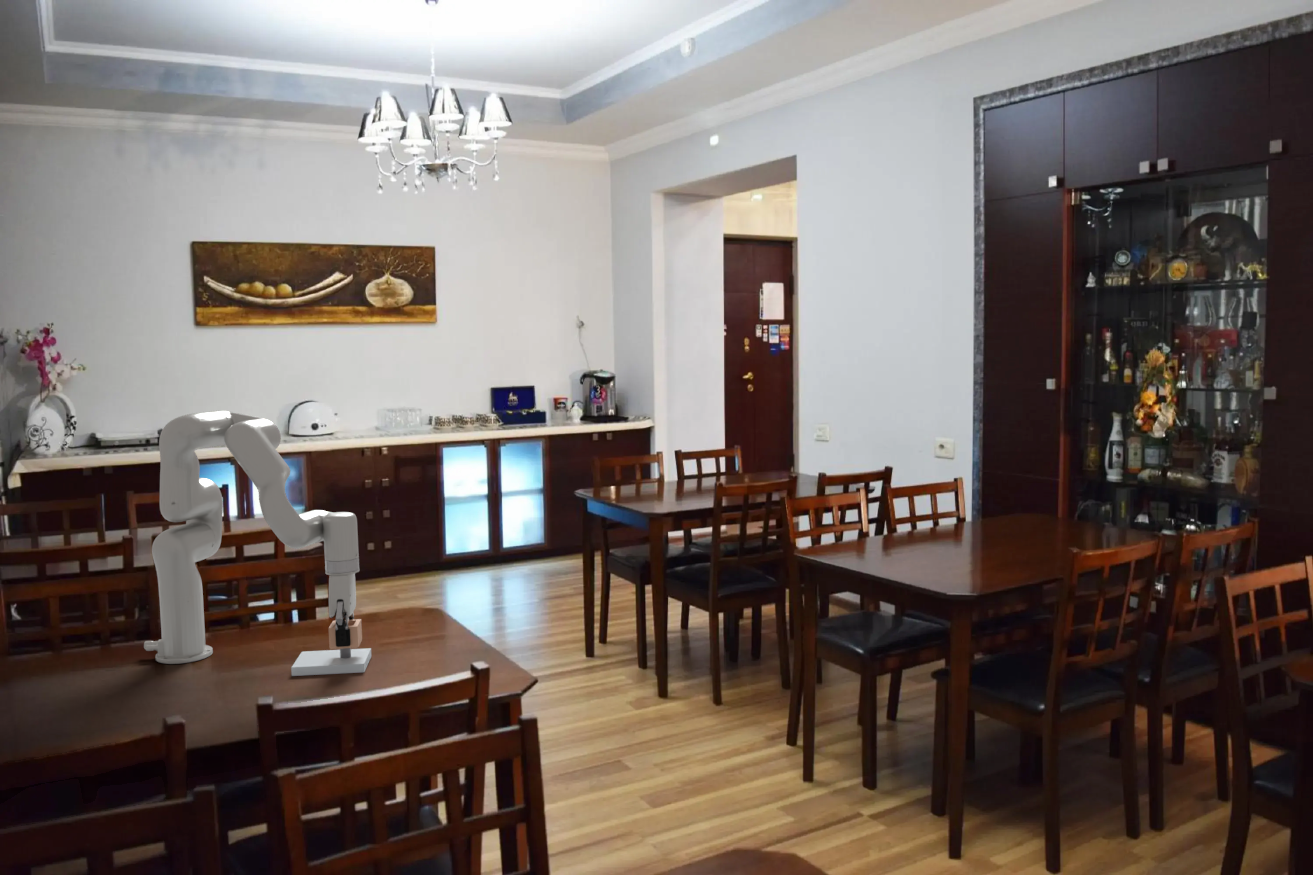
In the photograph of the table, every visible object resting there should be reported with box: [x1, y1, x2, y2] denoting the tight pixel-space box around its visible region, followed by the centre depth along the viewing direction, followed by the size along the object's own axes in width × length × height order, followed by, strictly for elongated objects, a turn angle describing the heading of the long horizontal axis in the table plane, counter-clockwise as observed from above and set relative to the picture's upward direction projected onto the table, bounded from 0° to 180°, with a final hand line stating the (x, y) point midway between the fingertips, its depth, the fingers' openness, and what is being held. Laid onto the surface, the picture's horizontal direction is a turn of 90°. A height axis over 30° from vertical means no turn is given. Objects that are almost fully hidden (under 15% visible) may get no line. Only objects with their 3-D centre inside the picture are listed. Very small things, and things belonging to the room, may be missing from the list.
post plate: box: [290, 647, 372, 677], centre depth 241 cm, size 16×12×7 cm
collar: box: [328, 618, 363, 650], centre depth 241 cm, size 6×6×5 cm
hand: (345, 640), depth 241 cm, fingers closed on collar, 6 cm apart
